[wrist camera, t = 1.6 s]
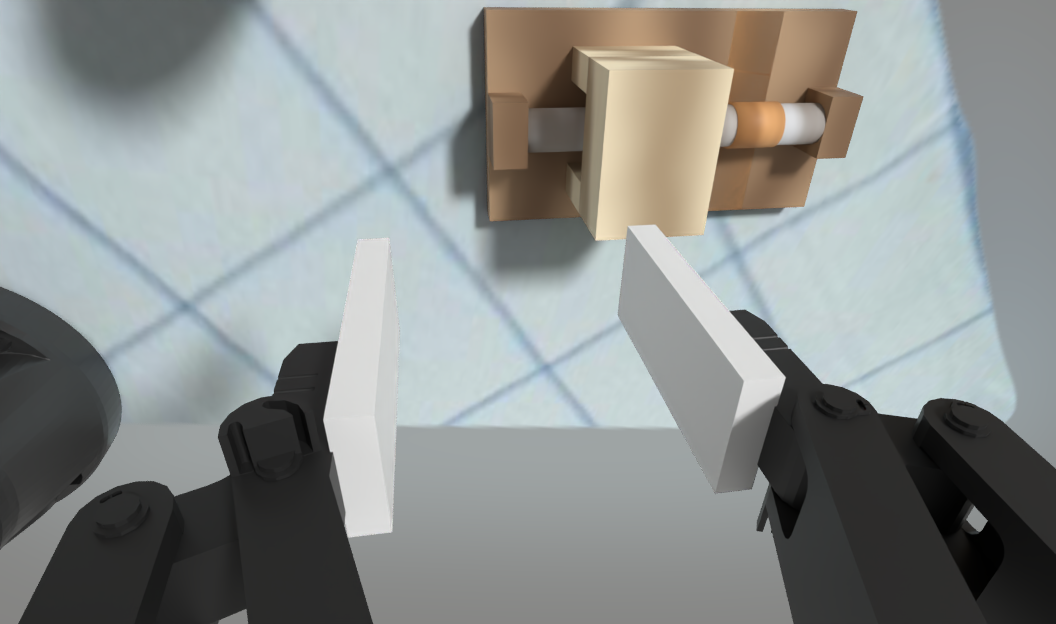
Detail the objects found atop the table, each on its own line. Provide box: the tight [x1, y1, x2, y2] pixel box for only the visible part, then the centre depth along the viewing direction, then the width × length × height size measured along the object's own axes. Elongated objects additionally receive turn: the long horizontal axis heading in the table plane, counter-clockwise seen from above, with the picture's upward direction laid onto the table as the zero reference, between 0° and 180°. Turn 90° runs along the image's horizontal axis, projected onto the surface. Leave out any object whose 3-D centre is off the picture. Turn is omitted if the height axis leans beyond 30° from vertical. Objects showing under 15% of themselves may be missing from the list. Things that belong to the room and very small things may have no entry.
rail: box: [484, 7, 863, 221], centre depth 30 cm, size 18×10×4 cm, turn 88°
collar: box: [565, 46, 734, 241], centre depth 27 cm, size 5×7×6 cm
